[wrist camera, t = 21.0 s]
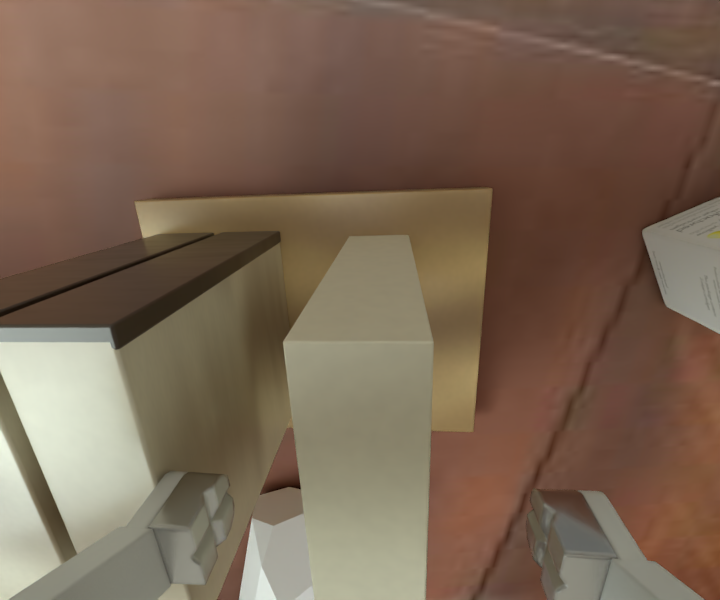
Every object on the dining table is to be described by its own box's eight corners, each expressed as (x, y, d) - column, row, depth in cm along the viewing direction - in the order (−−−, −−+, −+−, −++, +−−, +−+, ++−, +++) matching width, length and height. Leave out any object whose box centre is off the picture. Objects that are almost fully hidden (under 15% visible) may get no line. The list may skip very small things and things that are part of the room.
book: (356, 407, 22) (319, 657, 11) (348, 236, 19) (278, 341, 7) (408, 408, 22) (425, 666, 11) (409, 234, 18) (437, 341, 7)
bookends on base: (151, 198, 20) (-248, 250, 8) (485, 186, 19) (680, 228, 6) (198, 411, 25) (-1, 660, 12) (468, 416, 23) (558, 711, 11)
